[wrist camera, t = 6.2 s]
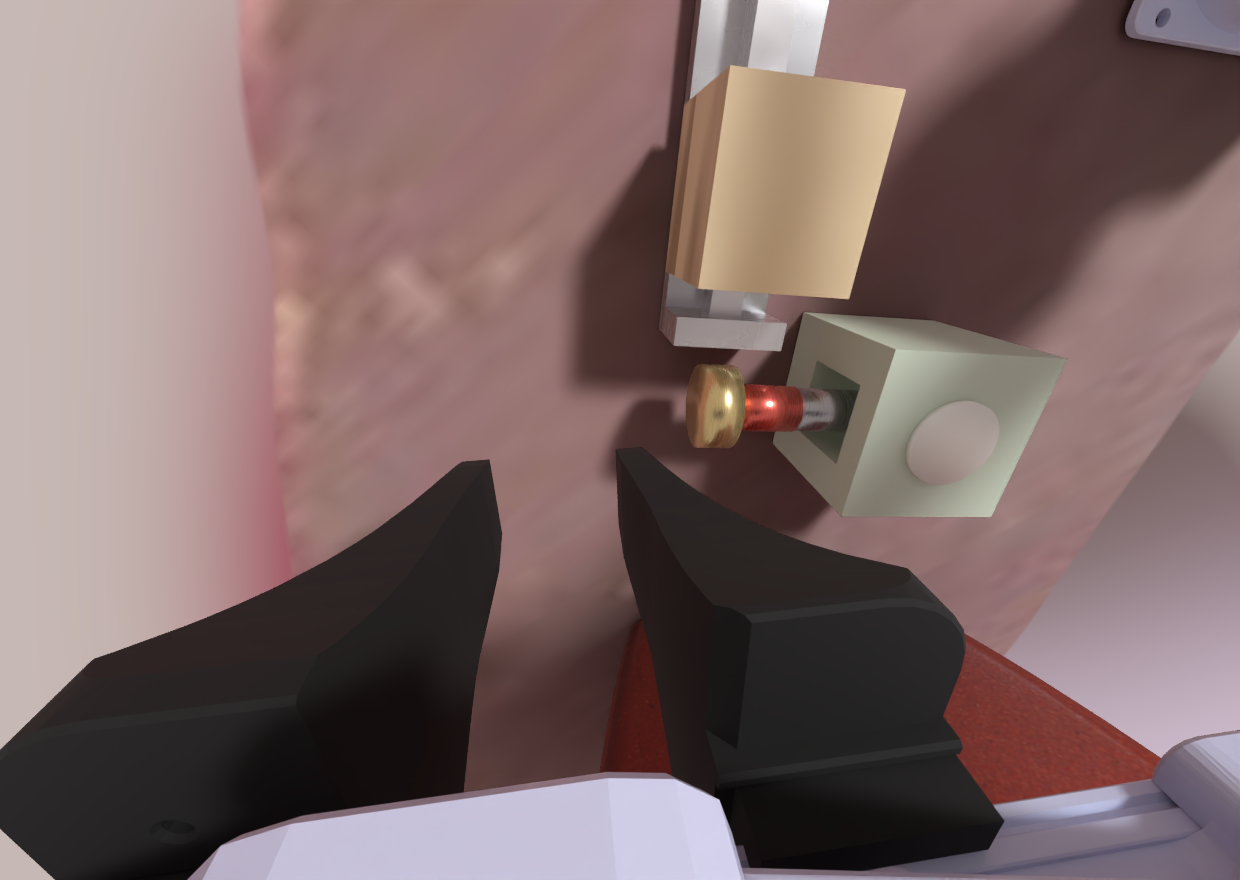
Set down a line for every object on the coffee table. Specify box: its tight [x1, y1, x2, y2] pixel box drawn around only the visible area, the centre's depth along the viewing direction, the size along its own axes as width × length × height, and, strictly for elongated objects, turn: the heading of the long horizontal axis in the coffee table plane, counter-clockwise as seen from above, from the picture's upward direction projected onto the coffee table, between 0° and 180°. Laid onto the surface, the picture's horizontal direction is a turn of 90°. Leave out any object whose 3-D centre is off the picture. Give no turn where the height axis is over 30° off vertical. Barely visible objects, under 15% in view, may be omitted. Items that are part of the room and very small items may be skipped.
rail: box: [659, 0, 829, 351], centre depth 15 cm, size 4×16×3 cm, turn 175°
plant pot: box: [600, 620, 1161, 804], centre depth 21 cm, size 19×19×17 cm
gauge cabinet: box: [773, 312, 1067, 517], centre depth 19 cm, size 6×6×6 cm
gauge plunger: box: [686, 364, 859, 448], centre depth 18 cm, size 7×3×3 cm, turn 85°
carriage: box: [665, 65, 906, 299], centre depth 14 cm, size 4×5×4 cm
